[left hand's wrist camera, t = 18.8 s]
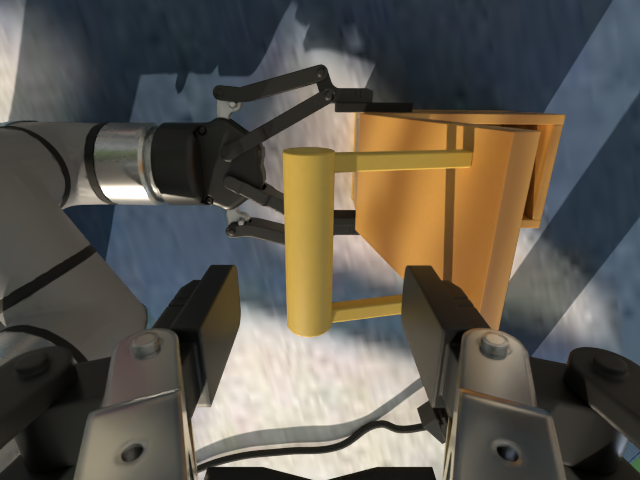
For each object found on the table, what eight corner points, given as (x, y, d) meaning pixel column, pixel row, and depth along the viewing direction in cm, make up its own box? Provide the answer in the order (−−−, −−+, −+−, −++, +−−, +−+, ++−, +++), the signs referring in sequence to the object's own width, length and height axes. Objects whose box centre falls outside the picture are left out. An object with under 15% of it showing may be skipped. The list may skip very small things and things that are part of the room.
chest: (506, 110, 39) (566, 114, 29) (491, 199, 42) (539, 228, 33) (355, 109, 39) (366, 112, 29) (351, 198, 42) (360, 226, 33)
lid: (541, 130, 13) (292, 134, 11) (495, 347, 17) (297, 378, 15) (374, 113, 29) (255, 113, 27) (367, 228, 32) (261, 236, 30)
